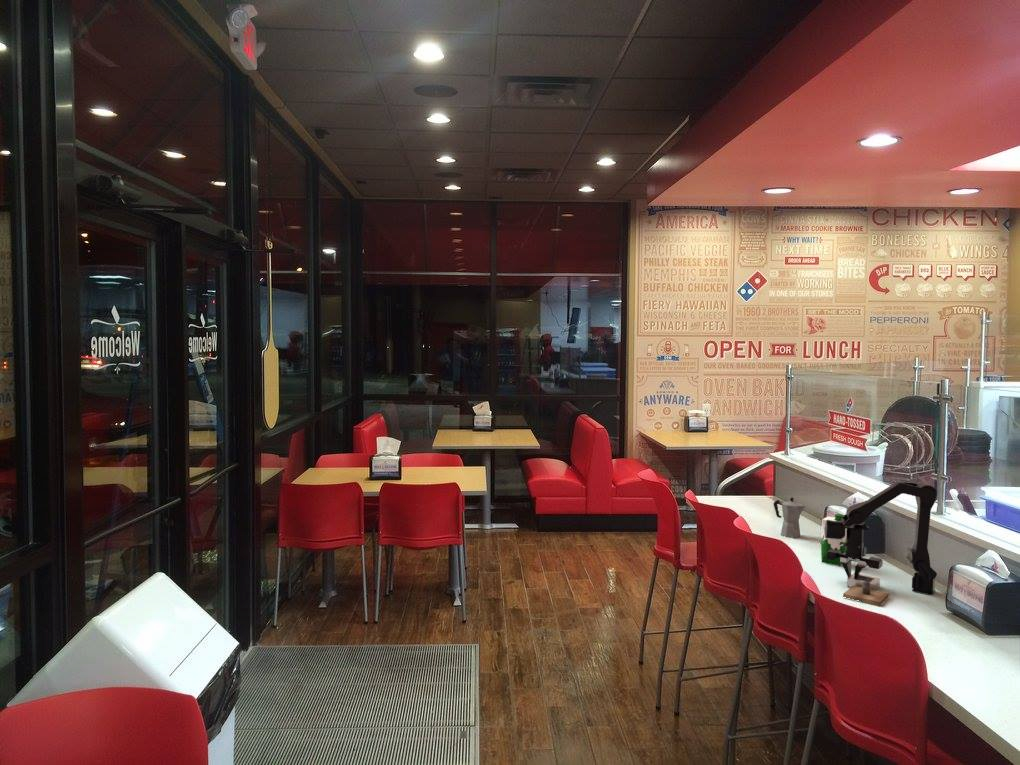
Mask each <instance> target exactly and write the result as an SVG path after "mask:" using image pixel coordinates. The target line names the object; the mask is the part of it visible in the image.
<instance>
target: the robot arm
mask: <svg viewBox="0 0 1020 765" xmlns="http://www.w3.org/2000/svg"><path fill="white" fill-rule="evenodd" d="M902 494H904V495H908V496H912V497H913V496H914V497H915V502H916V505H917V506H916V507H917V509H916V511H917V512H916V522H915V531H914V532H915V533H914V541H913V546H912V547H907V555H906V559H907V560H908V563H909V565H910V566H911V567H912V568H913V570H914V571H915V572H914V573H913V574H914V575H912V577H911V578H912V579H911V580H912V581H911V588H912V590H911V591H912V592H914V593H915V592H916V593H920V594H924V595H929V596H933V595H934V594H935V592H936V589H935V586H936V577H937V575H938V573H937V572H936V571H935V569H933V568H932V566H931V560H930V553H929V549H928V546H929V545H928V544H929V535H930V534H929V532H930V523H931V513H932V508H934V505H935V503H936V499H937V496H938V492H937V489H936V488H935V487H934V486H933V485H931V484H929V483H928V482H924V481H922V482H919V483H915V482H907V481H901V480H896V481H894V483H893V484H891V485H889V486H888V487H886V488H885V489H883V490H882V491H880V492H878V493H877V494H875V495H874V496H872V497H870V498H868V499H867V500H865V501H861V502H858V503H855V504H852V505H850V506H849V507H848V508H847V509H846V511H845V514H843V515H844V516H843V518H842V519H841V520H840V521H832V520H826V524H825V528H824V533H825V538H831V539H842V538H844V537H845V528H847V531H846V543H845V546H846V554H841V551H839V550H834V549H830V550H829V551H827V552H826V559H829V560H835V559H836V558H840V562H839V564H841V566H842V567H843V568H842V569H844V571H845V574H846V576H847V578H848V577H850V576H851V575H852V562H854V563H857V564H856V565H855V567H854V573H855V575H854V579H858V576H859V574H861V572H862V570H863V569H866V567H868V568H870V569H875V570H880V569H881V568H882V567H883V565H884V564H883V563H884V561H883V559H882V558H880V557H876V556H875V557H874V556H870V557H869V558H867V557H866V555H867V550H868V549H867V547H866V546H864V544H865V543H864V531H870V527H869V526H867V524H866V522H865V521H866V520H867V519H868V518H869V517H870V516H871V515H872V514H873V513H874V511H876V510H878V509H879V508H881V507H883V506H884V505H886V504H887V503H889V502H891V501H893V500H894V499H896V498H898V497H899V496H901V495H902ZM865 557H866V558H865Z"/></svg>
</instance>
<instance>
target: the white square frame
mask: <svg viewBox="0 0 1020 765" xmlns="http://www.w3.org/2000/svg"><path fill="white" fill-rule="evenodd" d="M854 575H855V572H854V573H851V576H850V577H847V579H846V587H848V586H849V587H848V588H851V587H852V586H858V587H863V582H864V581H868V582H869V583H870V589H872V590H876V591H877V590H878V588H879V587H880V585H881V578H879V577H875V576H871V575H866V574H862V573H860V574H859V576H858V579H854Z"/></svg>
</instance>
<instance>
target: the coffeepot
mask: <svg viewBox="0 0 1020 765" xmlns="http://www.w3.org/2000/svg"><path fill="white" fill-rule="evenodd" d="M789 498H790V499H789V501H785V500H780V499H777V500H775V501H774V502H773V507H774V511H775V515H776V517H777V518H779V519H781V518H783V521H782V525H781V530H780V531H781V532H780V536H782V537H784V536H785V537H784V538H791V539H799V538H801V528H800V518H801V513H802V512H803V510H804V509H806V508H807V506H806V505H803V504H802V503H799V502H796V501H794V499H795V498H794V497H789ZM778 505H780V506H781V509H782V515H780V511H779V506H778Z"/></svg>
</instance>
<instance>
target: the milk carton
mask: <svg viewBox="0 0 1020 765" xmlns="http://www.w3.org/2000/svg"><path fill="white" fill-rule="evenodd" d="M844 515H845V514H842V513H841V514H840V513H835V514H834V517H833V516H826V517H824V518H822V520H821V522H822V524H821V525H822V526H821V544H820V545H821V546H820V552H821V553H820V555H821V563H824V564H827V565H828V564H829V565H832V566H833V565H834V566H838V565H839V566H842V564H839V562H840V558H836V559H835V560H829V559H826V552H827V551H829V550H830V549H834V550H839V551H841V554H846V546H845V543H846V531H847V528H845V537H844V538H842V539H831V538H825V533H824V528H825V524H826V520H832V521H840V520H841V519H842V518H843V516H844Z"/></svg>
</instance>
